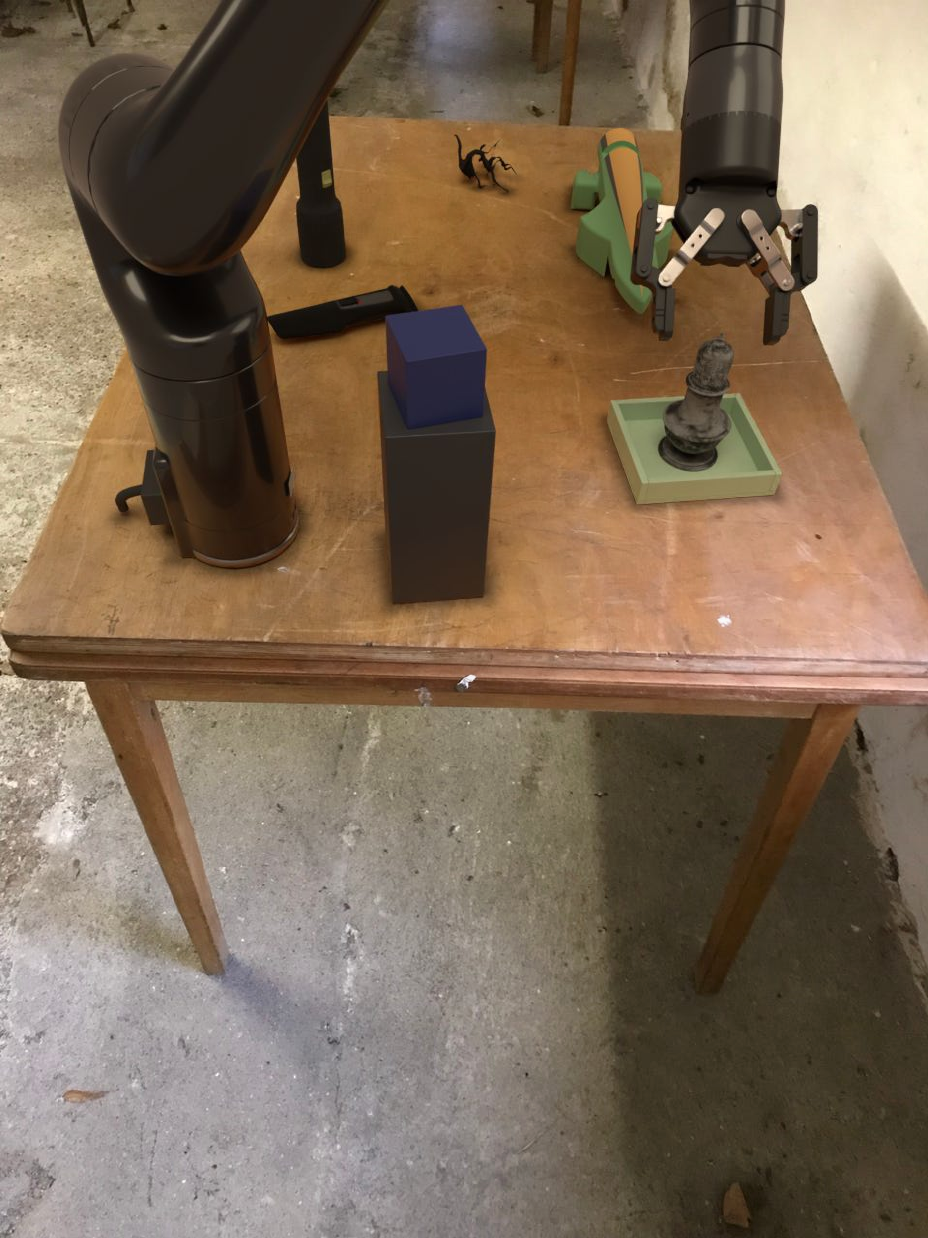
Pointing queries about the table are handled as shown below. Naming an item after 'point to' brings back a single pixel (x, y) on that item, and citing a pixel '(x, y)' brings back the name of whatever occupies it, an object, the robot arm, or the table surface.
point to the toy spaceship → (617, 213)
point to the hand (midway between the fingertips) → (718, 341)
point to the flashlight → (319, 199)
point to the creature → (467, 164)
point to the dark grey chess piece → (699, 411)
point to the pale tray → (652, 480)
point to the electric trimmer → (342, 313)
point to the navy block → (435, 366)
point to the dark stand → (435, 502)
